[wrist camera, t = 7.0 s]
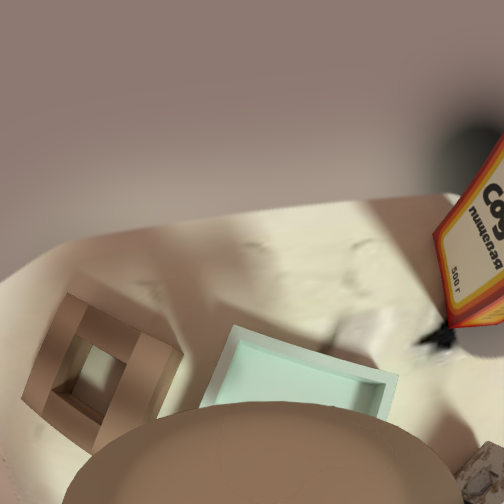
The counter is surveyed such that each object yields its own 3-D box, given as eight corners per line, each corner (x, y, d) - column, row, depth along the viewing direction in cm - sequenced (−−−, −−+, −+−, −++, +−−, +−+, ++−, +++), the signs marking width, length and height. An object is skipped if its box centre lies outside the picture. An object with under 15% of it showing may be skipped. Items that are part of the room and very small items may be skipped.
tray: (332, 520, 15) (340, 531, 13) (176, 474, 17) (167, 481, 15) (385, 378, 20) (398, 374, 18) (236, 332, 22) (233, 324, 20)
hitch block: (136, 466, 17) (120, 473, 15) (42, 402, 19) (21, 398, 16) (183, 354, 22) (173, 346, 19) (84, 305, 23) (67, 292, 21)
